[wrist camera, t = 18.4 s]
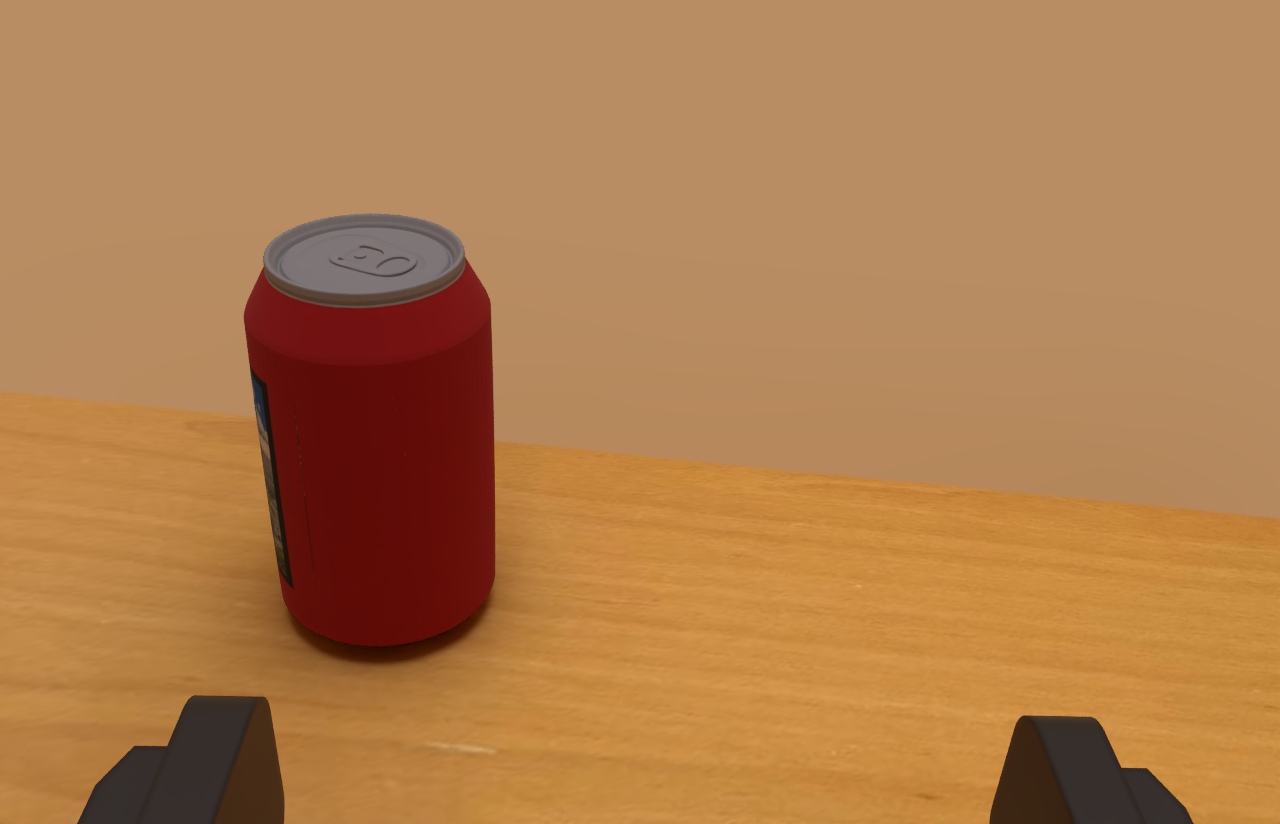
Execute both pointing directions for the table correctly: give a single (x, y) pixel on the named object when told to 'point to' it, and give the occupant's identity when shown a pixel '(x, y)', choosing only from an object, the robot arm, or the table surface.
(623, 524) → the table surface
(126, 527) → the table surface
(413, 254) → the beverage can
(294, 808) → the table surface
